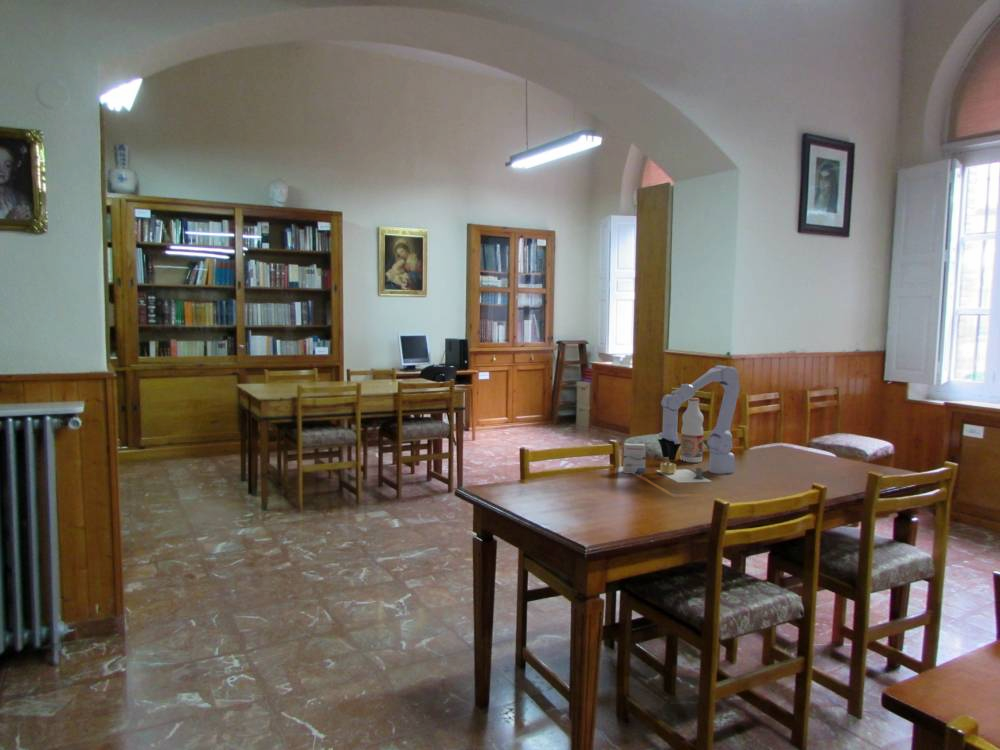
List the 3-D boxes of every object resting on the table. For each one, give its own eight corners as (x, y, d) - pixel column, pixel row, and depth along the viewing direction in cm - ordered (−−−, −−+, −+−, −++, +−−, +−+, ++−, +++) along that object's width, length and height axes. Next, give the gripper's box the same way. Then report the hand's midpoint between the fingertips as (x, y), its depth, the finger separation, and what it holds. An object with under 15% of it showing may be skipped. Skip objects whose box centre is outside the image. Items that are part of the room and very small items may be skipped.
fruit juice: (677, 458, 300) (680, 396, 297) (698, 458, 300) (701, 397, 297) (682, 462, 291) (685, 399, 288) (704, 463, 290) (707, 399, 288)
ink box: (643, 471, 272) (644, 443, 271) (645, 474, 267) (646, 445, 266) (622, 471, 272) (623, 442, 271) (623, 473, 267) (624, 444, 266)
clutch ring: (671, 469, 269) (671, 462, 269) (677, 472, 264) (678, 465, 263) (658, 470, 268) (658, 462, 268) (664, 473, 263) (664, 465, 262)
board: (687, 471, 273) (687, 459, 273) (712, 483, 254) (712, 471, 253) (655, 472, 270) (656, 460, 270) (678, 485, 251) (678, 472, 250)
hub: (670, 471, 269) (671, 460, 268) (676, 474, 264) (676, 463, 264) (659, 471, 268) (660, 460, 267) (665, 474, 263) (665, 463, 263)
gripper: (652, 421, 271) (651, 454, 272) (668, 427, 256) (667, 462, 258) (669, 421, 272) (667, 454, 273) (685, 427, 258) (684, 462, 259)
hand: (668, 458), depth 265 cm, fingers open, 5 cm apart
